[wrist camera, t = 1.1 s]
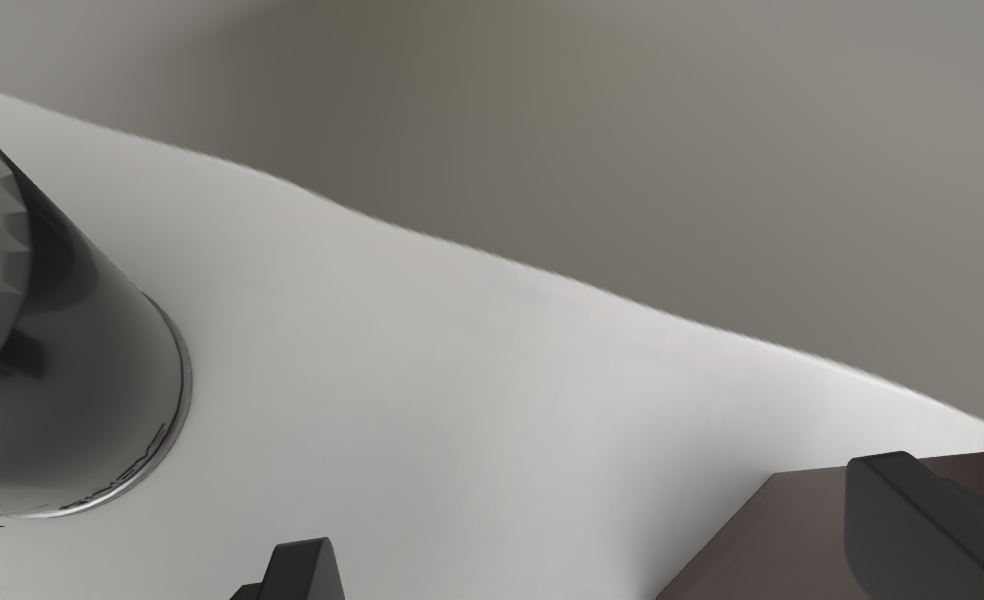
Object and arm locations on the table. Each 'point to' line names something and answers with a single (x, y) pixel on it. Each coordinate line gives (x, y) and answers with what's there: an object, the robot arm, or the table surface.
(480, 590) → the table surface
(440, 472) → the table surface
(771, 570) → the walnut shelf
